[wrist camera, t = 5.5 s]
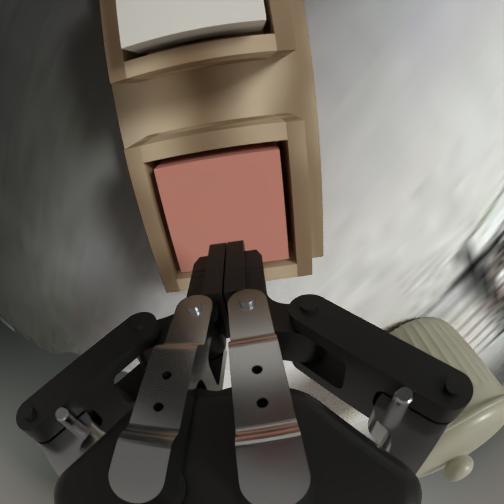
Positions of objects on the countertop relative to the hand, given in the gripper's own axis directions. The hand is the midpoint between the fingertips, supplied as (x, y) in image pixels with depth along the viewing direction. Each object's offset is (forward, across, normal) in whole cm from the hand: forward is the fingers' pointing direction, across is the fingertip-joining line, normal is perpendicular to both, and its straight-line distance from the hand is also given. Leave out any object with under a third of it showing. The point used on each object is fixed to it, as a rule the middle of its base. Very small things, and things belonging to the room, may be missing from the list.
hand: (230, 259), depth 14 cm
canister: (+12, -19, +25) cm, 34 cm away
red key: (+8, 0, 0) cm, 8 cm away
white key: (+6, 0, -14) cm, 15 cm away
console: (+12, 0, -7) cm, 14 cm away
